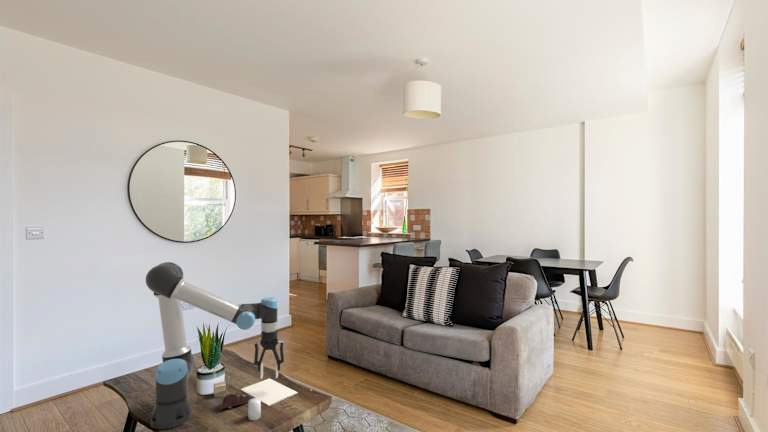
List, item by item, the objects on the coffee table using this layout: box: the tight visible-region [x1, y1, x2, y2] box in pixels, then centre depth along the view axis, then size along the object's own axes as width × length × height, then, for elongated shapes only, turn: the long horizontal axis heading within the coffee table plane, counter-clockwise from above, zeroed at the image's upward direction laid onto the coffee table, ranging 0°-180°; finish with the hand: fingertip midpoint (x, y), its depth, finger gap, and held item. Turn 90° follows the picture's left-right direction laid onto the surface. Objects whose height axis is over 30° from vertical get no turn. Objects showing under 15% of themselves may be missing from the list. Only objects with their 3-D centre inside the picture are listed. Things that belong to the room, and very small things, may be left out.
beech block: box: [213, 380, 227, 399], centre depth 181 cm, size 5×5×5 cm
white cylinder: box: [247, 397, 262, 421], centre depth 160 cm, size 5×5×7 cm
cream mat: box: [240, 378, 298, 407], centre depth 183 cm, size 24×16×1 cm, turn 50°
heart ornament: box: [220, 392, 252, 410], centre depth 170 cm, size 6×12×11 cm
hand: (269, 377), depth 183 cm, fingers open, 6 cm apart
